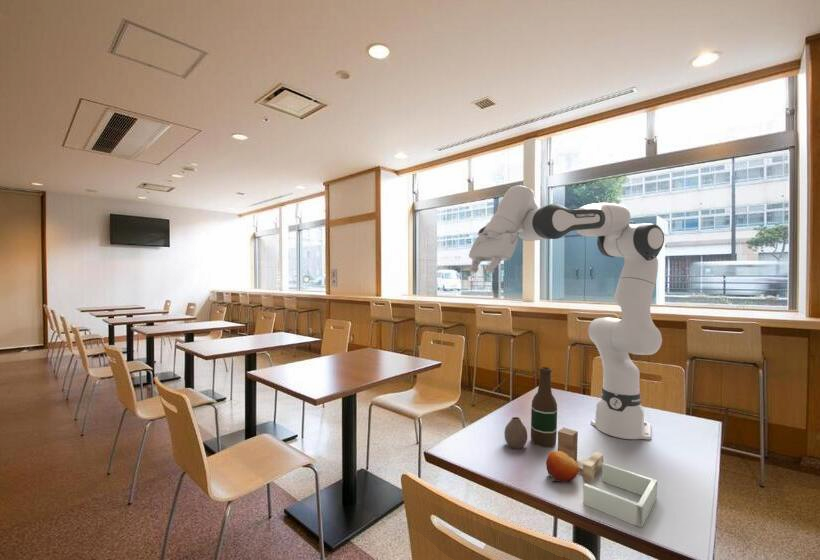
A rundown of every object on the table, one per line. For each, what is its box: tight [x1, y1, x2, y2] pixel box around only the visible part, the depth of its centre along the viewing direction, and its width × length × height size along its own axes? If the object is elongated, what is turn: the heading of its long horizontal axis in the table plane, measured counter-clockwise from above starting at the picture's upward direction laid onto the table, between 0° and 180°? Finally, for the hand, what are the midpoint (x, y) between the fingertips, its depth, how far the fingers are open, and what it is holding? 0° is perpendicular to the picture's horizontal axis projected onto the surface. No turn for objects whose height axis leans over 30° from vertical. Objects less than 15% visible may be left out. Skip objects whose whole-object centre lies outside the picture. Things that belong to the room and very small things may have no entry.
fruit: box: [545, 450, 579, 484], centre depth 101 cm, size 8×8×8 cm
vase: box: [504, 416, 528, 449], centre depth 119 cm, size 7×7×9 cm
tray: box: [582, 462, 658, 528], centre depth 91 cm, size 15×12×4 cm
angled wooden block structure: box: [557, 427, 604, 483], centre depth 106 cm, size 10×10×10 cm
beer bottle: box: [530, 366, 558, 448], centre depth 122 cm, size 8×8×24 cm
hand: (480, 272), depth 114 cm, fingers open, 8 cm apart
